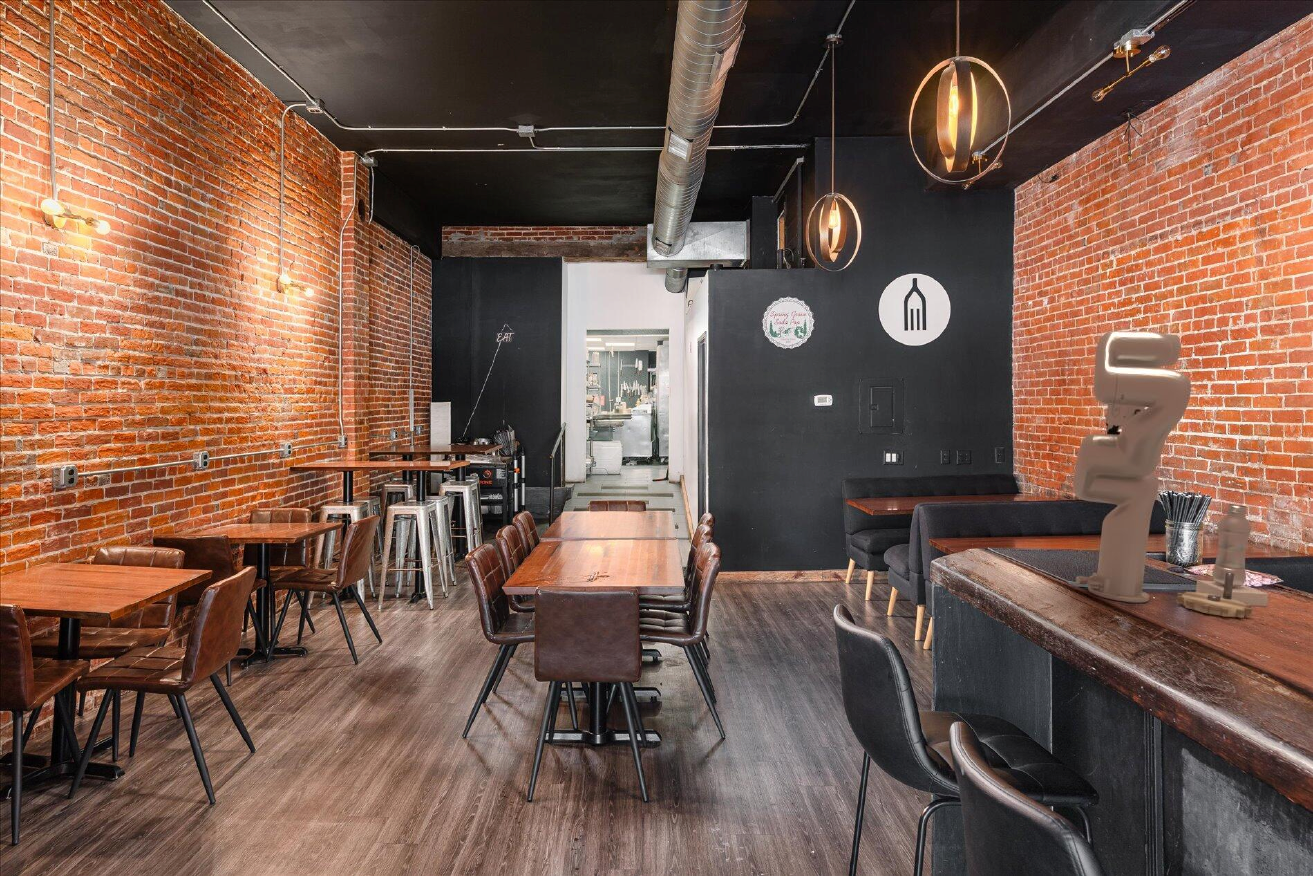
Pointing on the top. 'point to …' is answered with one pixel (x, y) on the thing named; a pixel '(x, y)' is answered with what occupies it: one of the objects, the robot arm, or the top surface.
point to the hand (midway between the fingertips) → (1122, 447)
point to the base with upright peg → (1216, 601)
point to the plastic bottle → (1232, 545)
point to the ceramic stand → (1234, 592)
